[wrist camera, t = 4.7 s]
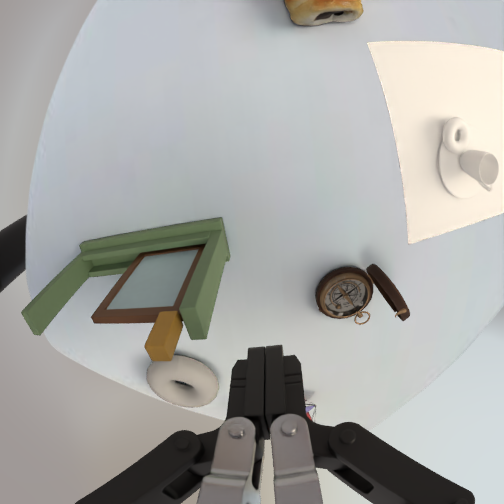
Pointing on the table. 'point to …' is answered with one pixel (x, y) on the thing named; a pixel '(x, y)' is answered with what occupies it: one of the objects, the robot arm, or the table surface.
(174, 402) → the donut
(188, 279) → the sash
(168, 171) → the table surface
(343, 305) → the compass
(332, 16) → the pastry
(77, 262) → the window frame
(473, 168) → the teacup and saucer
